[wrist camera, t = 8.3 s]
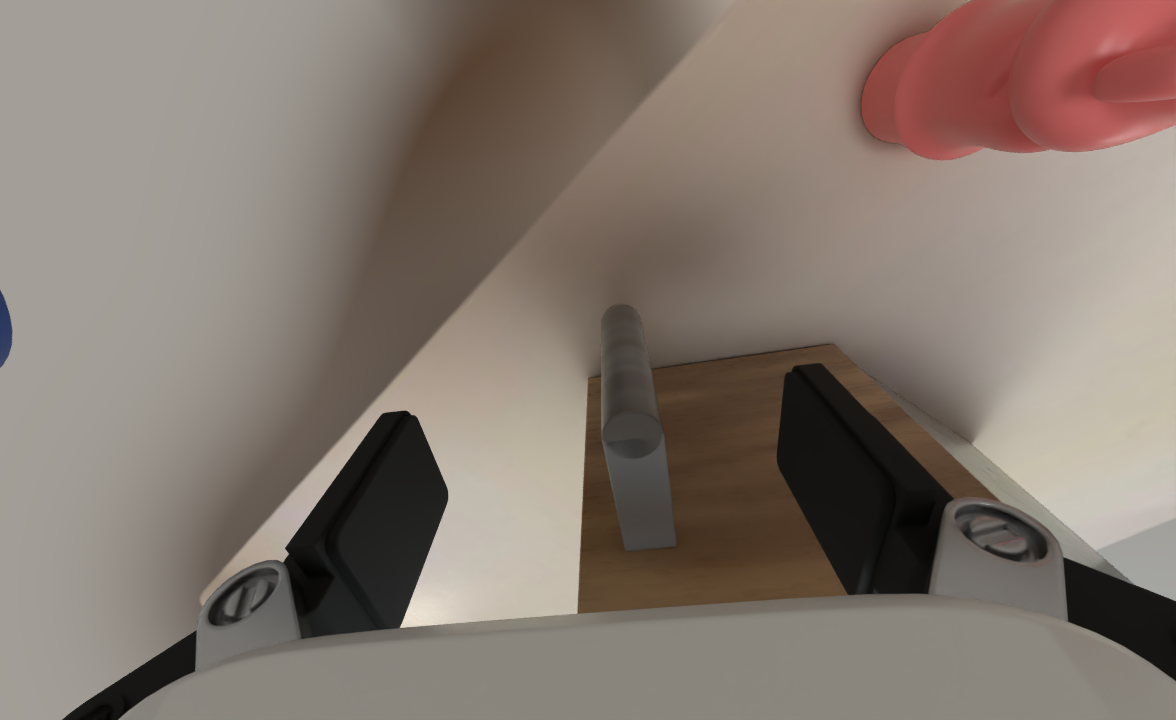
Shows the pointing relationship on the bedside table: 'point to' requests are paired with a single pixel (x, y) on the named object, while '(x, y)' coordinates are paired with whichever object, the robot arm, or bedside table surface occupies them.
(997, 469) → the cabinet
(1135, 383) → the bedside table surface
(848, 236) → the bedside table surface
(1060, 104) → the figurine
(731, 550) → the door
